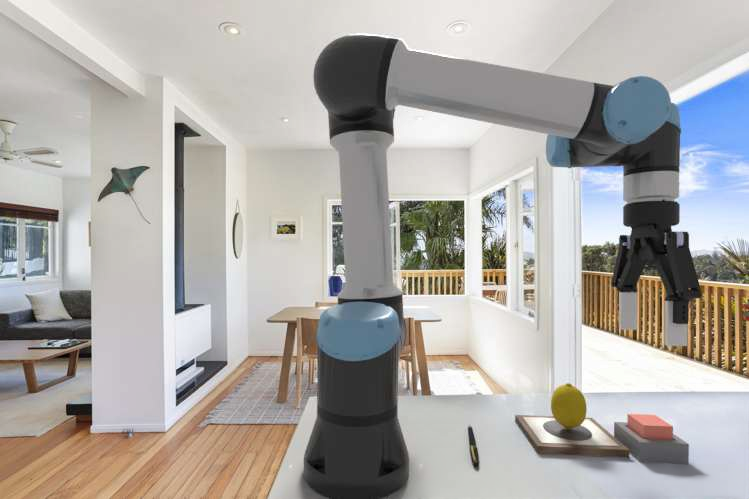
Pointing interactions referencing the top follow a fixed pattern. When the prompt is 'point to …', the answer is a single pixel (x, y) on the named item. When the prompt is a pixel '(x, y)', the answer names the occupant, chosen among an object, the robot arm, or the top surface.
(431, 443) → the top surface
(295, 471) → the top surface
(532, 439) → the board
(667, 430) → the button
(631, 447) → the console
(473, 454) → the fountain pen
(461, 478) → the top surface
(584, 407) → the lemon
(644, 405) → the top surface
